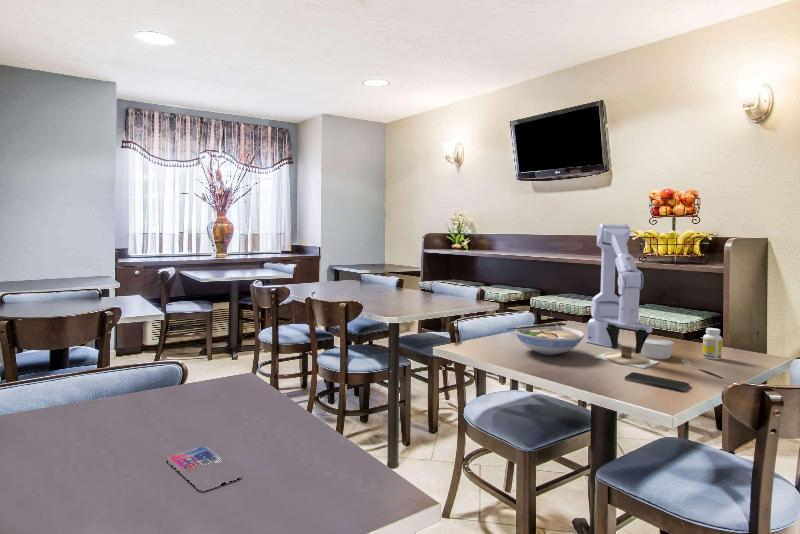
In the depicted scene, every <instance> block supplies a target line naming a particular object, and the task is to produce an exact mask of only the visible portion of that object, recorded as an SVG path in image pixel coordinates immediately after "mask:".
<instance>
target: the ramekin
mask: <svg viewBox="0 0 800 534" xmlns="http://www.w3.org/2000/svg"><path fill="white" fill-rule="evenodd" d="M674 346H675V342H673V341H672V340H669V339H668V340H667V339H664V338H658V337H649V336H648V337H647V339H646V340H645V342H644V344H643V347H642V350H641V353H639V354H638V355H641V356H644V357H646V358H648V359H652V360H654V359H655V360H668V359H670V357H671V356H672V354H673V353H672V352H673V349H674Z"/></svg>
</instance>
